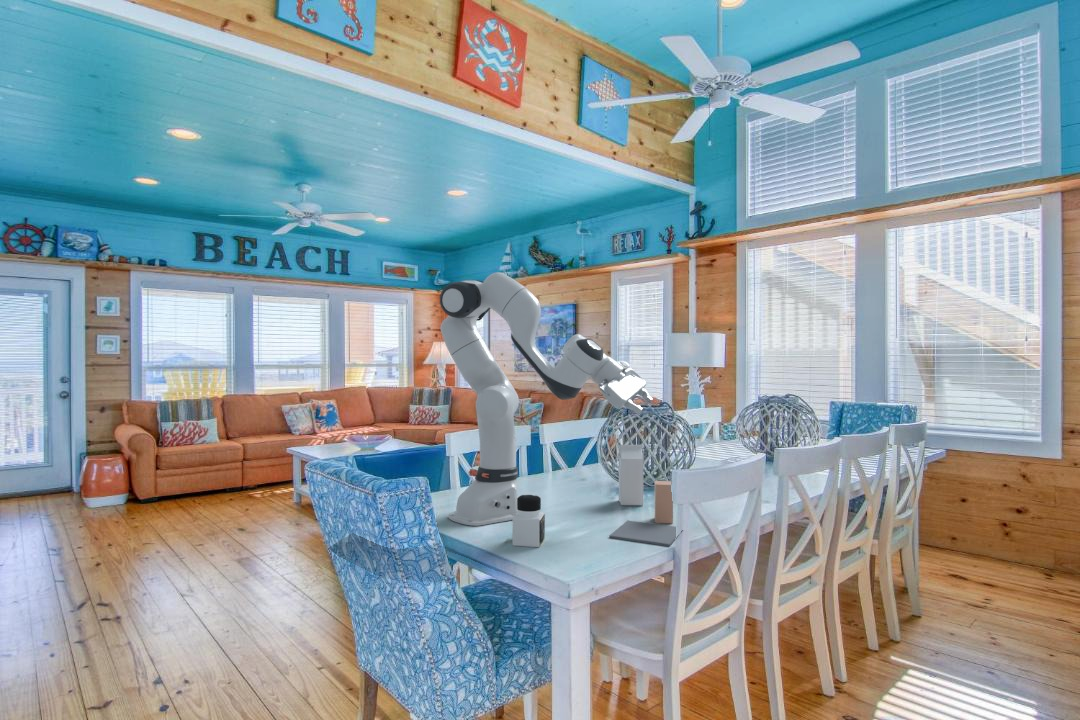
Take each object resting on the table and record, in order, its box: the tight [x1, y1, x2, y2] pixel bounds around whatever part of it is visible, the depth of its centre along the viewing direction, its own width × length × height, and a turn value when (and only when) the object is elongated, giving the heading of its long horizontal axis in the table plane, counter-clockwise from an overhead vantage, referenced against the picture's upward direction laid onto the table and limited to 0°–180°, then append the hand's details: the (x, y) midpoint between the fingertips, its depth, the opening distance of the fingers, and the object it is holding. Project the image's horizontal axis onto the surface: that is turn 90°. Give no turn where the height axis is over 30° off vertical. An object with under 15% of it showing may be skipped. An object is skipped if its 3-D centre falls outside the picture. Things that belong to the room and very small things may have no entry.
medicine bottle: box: [512, 493, 546, 548], centre depth 151 cm, size 7×7×12 cm
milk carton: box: [618, 444, 644, 506], centre depth 193 cm, size 7×7×19 cm
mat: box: [608, 520, 677, 547], centre depth 159 cm, size 16×16×1 cm
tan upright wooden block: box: [654, 480, 674, 524], centre depth 172 cm, size 5×5×11 cm
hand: (646, 406), depth 172 cm, fingers open, 8 cm apart
